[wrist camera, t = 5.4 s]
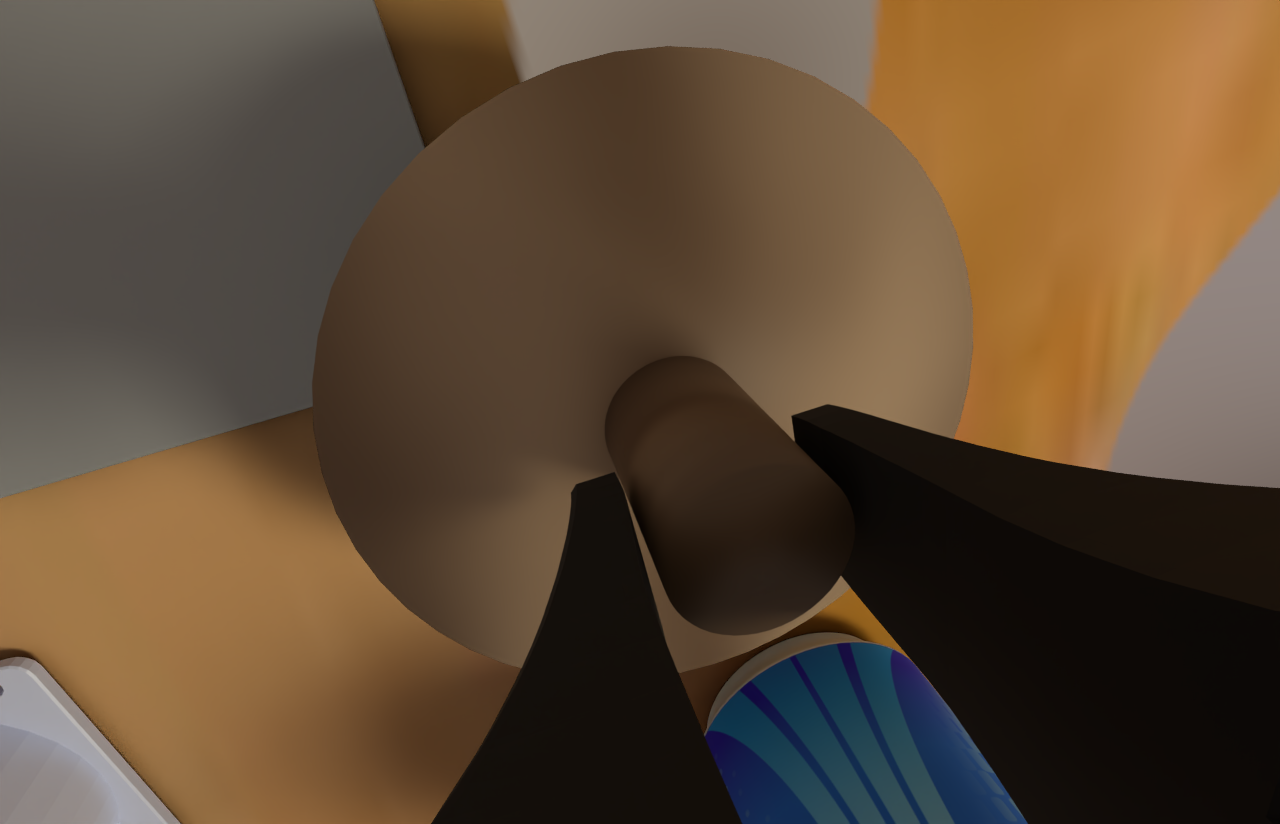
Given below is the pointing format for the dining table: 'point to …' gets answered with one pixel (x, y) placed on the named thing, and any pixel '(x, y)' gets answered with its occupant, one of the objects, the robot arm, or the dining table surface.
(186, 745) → the dining table surface
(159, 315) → the mat
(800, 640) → the beer can
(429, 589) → the lid
